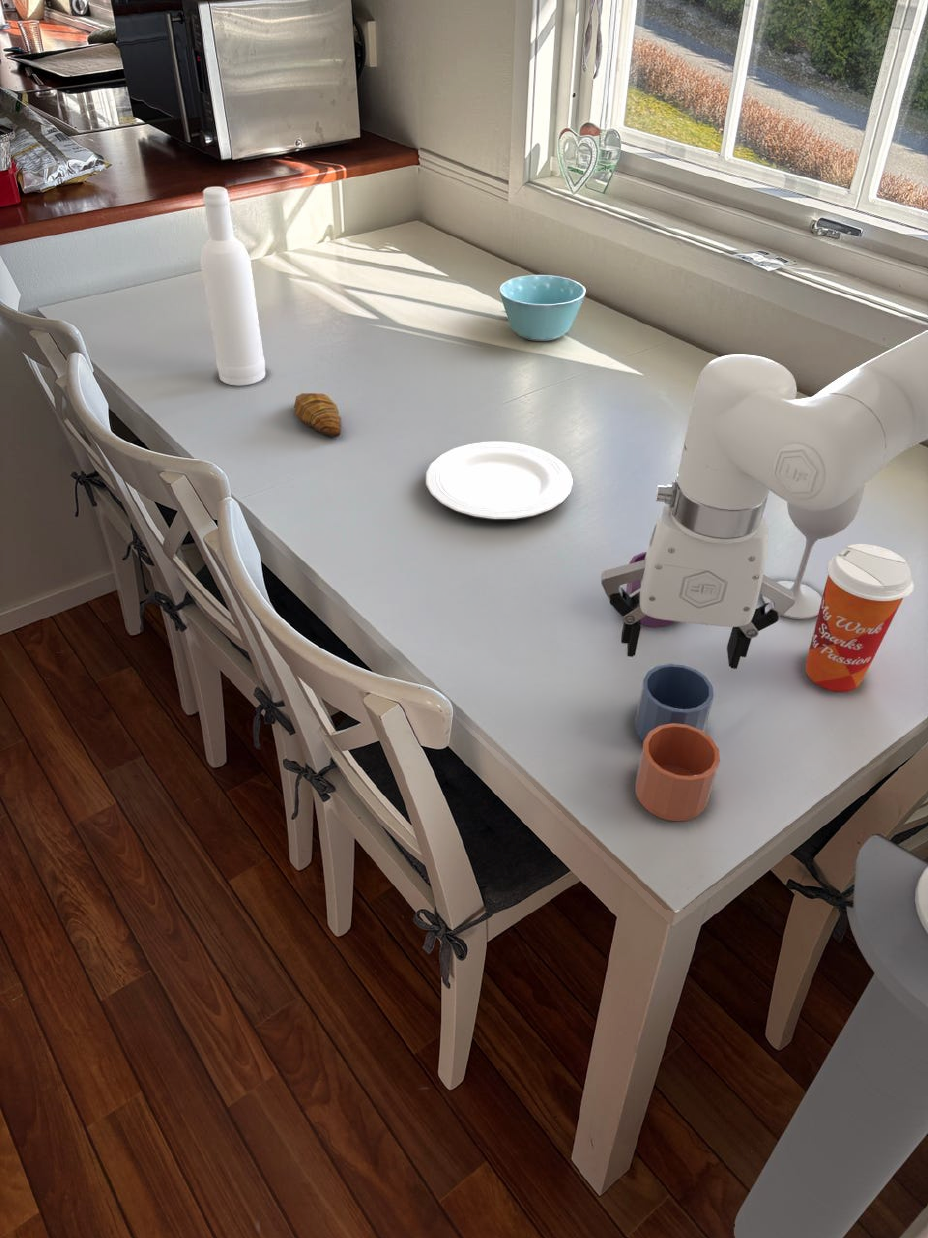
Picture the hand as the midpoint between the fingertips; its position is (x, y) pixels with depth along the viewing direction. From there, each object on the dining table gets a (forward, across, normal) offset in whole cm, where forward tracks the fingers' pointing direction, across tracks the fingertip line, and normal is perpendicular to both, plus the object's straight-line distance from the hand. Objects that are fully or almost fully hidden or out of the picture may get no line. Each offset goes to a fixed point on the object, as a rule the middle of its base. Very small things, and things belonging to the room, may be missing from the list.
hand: (680, 653), depth 89 cm
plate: (+11, -22, +43) cm, 50 cm away
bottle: (+12, -69, +72) cm, 101 cm away
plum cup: (+10, -1, +19) cm, 22 cm away
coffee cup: (+10, +19, +11) cm, 24 cm away
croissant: (+12, -52, +58) cm, 79 cm away
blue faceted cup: (+10, +1, 0) cm, 10 cm away
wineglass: (+10, +16, +24) cm, 30 cm away
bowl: (+12, -21, +100) cm, 103 cm away
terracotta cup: (+10, +1, -9) cm, 13 cm away
